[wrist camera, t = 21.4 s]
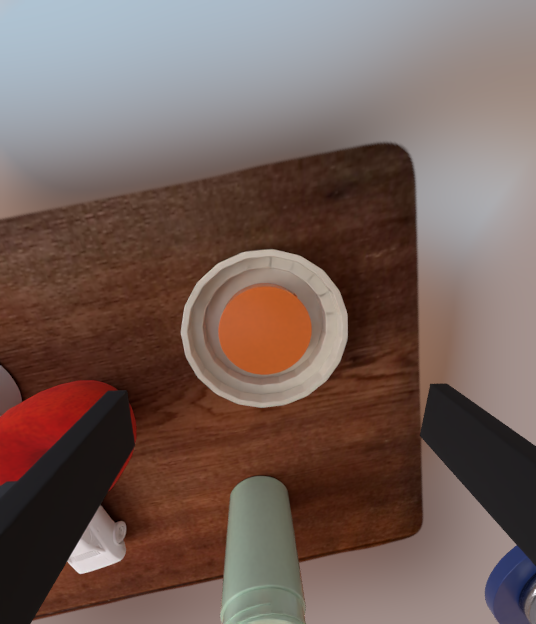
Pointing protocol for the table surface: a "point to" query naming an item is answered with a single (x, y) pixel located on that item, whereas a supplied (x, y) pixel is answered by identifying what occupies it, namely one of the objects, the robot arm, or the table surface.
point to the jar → (261, 557)
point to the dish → (310, 290)
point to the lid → (264, 329)
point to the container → (8, 392)
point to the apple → (46, 424)
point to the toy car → (99, 544)
